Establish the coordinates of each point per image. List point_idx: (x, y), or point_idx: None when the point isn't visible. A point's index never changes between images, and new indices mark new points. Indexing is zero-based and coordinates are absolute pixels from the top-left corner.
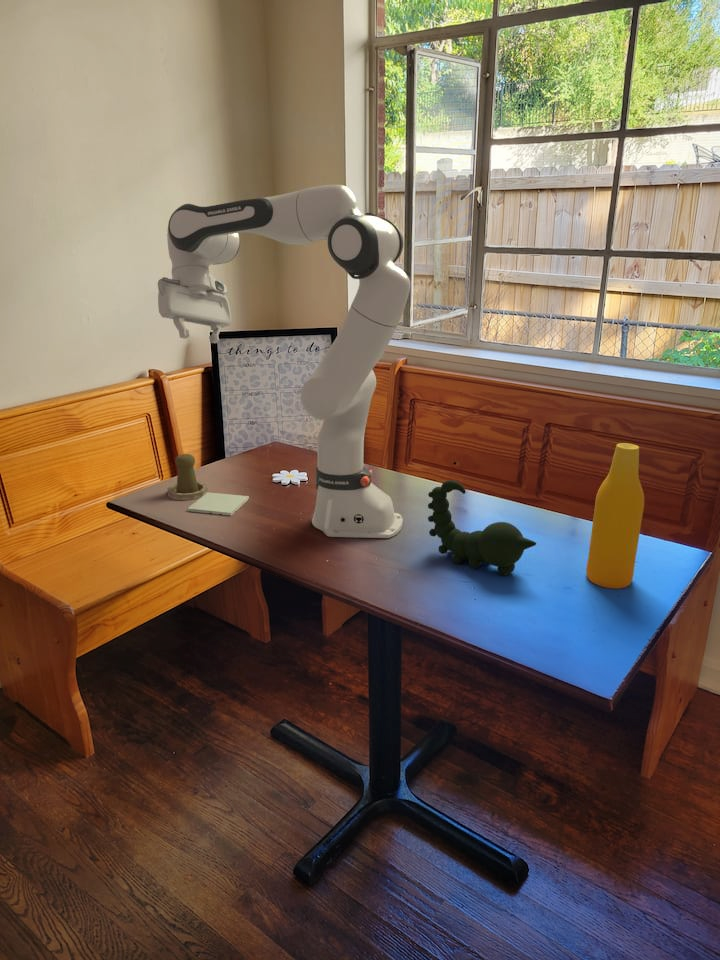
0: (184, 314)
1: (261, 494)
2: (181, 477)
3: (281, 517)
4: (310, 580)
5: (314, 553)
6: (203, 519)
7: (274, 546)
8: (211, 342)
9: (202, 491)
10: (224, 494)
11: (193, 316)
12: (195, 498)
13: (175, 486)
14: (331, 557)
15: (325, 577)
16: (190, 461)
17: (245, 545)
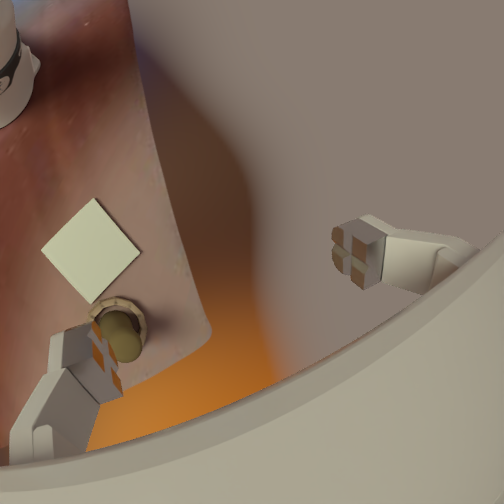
0: (486, 250)
1: (17, 259)
2: (131, 327)
3: (40, 150)
4: (128, 8)
5: (83, 41)
6: (131, 209)
7: (103, 78)
8: (108, 343)
9: (100, 302)
10: (70, 279)
11: (424, 300)
12: (112, 297)
13: None
14: (77, 26)
15: (114, 4)
16: (119, 329)
17: (128, 100)
